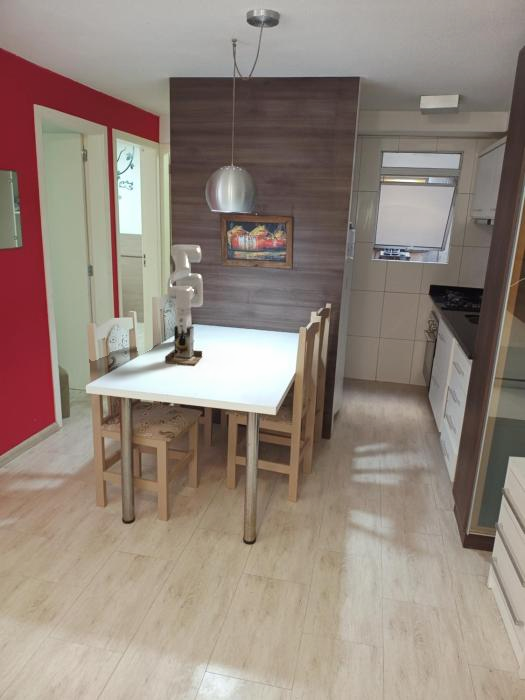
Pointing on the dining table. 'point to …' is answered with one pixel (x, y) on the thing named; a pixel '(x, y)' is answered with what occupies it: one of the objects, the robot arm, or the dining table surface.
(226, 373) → the dining table surface
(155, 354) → the dining table surface
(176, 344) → the coffee box
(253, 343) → the dining table surface
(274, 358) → the dining table surface
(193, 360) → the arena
